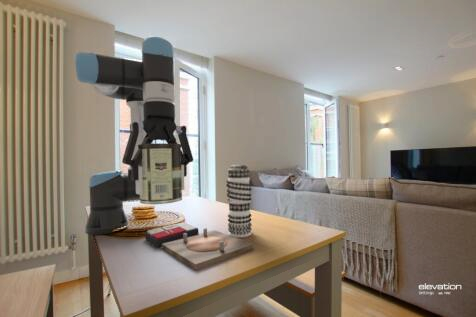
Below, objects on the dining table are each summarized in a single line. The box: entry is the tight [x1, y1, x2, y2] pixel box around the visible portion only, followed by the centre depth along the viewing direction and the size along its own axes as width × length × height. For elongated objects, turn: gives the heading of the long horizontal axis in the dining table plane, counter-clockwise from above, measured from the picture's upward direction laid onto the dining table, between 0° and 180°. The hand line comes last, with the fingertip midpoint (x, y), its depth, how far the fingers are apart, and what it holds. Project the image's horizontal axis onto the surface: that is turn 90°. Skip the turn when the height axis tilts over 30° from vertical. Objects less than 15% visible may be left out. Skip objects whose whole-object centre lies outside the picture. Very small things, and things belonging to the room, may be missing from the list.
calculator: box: [144, 221, 200, 249], centre depth 84 cm, size 11×4×15 cm
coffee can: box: [138, 142, 183, 205], centre depth 61 cm, size 10×10×14 cm
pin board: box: [161, 227, 254, 271], centre depth 74 cm, size 20×20×4 cm
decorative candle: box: [225, 164, 253, 238], centre depth 88 cm, size 9×9×25 cm
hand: (161, 191), depth 61 cm, fingers closed on coffee can, 10 cm apart
